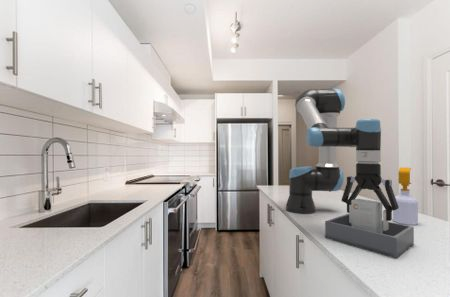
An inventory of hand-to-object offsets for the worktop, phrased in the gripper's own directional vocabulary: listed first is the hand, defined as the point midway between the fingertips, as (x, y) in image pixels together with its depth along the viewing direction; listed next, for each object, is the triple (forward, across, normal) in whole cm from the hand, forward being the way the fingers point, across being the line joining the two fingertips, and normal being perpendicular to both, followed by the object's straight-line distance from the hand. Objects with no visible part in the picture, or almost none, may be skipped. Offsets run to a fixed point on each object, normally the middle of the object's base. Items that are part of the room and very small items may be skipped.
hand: (368, 225), depth 86 cm
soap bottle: (+5, +1, +39) cm, 39 cm away
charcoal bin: (+5, 0, 0) cm, 5 cm away
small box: (+4, 0, 0) cm, 5 cm away
